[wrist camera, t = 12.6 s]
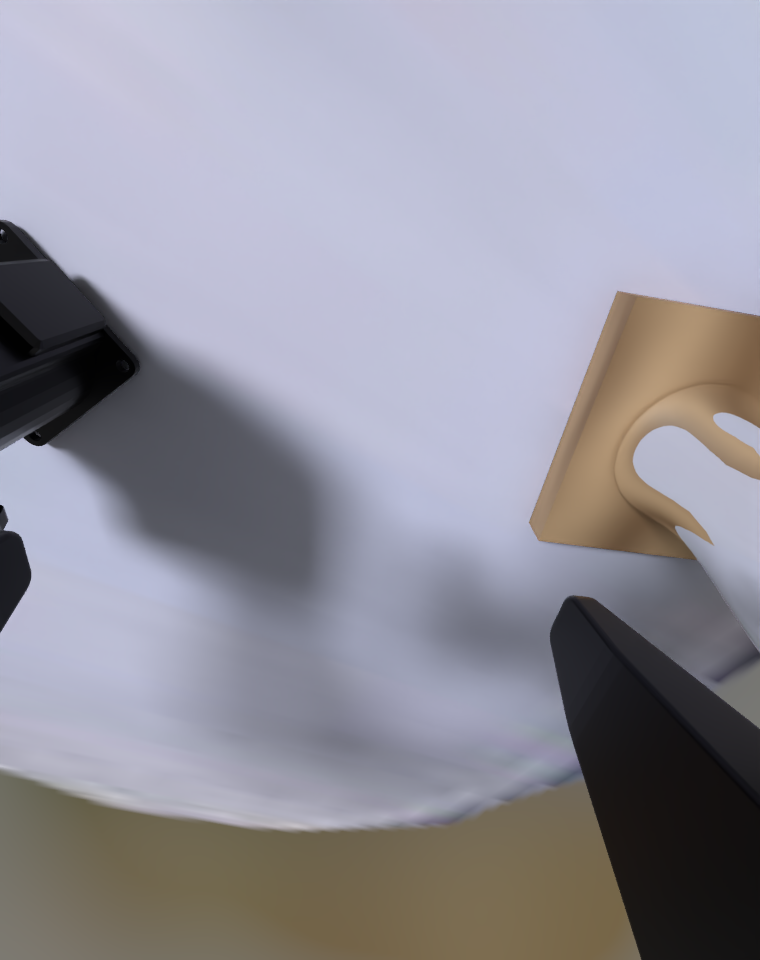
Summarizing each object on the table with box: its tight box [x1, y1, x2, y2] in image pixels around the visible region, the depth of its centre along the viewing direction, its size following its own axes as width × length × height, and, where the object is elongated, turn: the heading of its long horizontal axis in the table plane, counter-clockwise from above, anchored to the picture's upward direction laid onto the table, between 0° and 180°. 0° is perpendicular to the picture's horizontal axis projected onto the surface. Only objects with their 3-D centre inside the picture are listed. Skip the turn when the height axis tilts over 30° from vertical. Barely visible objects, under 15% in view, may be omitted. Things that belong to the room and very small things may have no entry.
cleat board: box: [529, 291, 760, 560], centre depth 17 cm, size 10×11×8 cm
